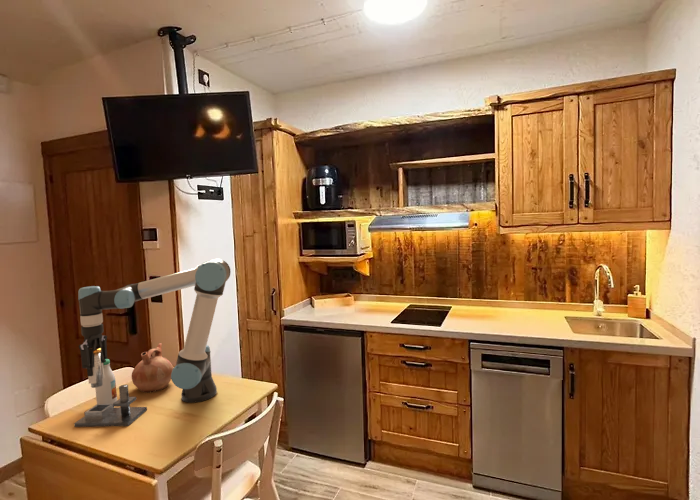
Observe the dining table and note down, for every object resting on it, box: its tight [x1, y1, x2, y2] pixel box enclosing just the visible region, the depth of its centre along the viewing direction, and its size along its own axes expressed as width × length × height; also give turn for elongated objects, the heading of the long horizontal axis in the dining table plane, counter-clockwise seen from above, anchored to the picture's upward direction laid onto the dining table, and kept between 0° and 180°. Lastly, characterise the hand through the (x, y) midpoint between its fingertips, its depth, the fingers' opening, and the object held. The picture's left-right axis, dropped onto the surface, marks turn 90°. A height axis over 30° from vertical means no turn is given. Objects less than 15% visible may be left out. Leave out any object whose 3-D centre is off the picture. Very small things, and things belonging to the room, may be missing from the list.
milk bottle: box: [95, 358, 118, 404], centre depth 173 cm, size 8×8×20 cm
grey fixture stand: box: [73, 384, 148, 428], centre depth 159 cm, size 22×13×14 cm, turn 87°
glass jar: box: [90, 348, 103, 389], centre depth 159 cm, size 5×5×15 cm
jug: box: [131, 342, 174, 394], centre depth 189 cm, size 18×18×20 cm
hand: (96, 380), depth 159 cm, fingers closed on glass jar, 4 cm apart
